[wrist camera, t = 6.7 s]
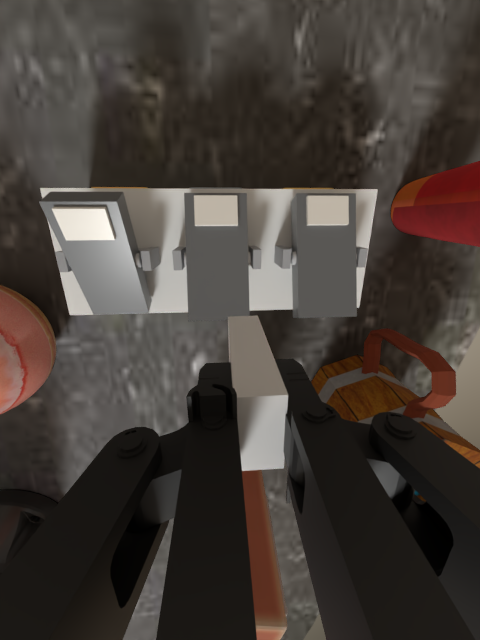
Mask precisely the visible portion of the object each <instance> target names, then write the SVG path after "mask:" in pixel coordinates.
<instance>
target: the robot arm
mask: <svg viewBox="0 0 480 640" xmlns="http://www.w3.org/2000/svg"><path fill="white" fill-rule="evenodd" d="M228 337H229V362H227V363H206V364H205V365H204V366H203V367H202V368H201V369H200V372H199V380H198V385H197V386H195V387H194V388H192V389H191V390H190V391H189V393H188V395H187V397H186V398H187V408H188V418H189V423H188V424H187V425H185V426H184V427H183V428H181V429H179V430H177V431H175V432H172V433H170V434H166V435H163V436H160V437H159V436H158V434H157V433H156V432H155V431H154V430H153V429H150V428H146V427H135V428H131V429H128V430H125V431H123V432H121V433H119V434H117V435H116V436H114V437H113V438H112V439H111V440H110V441H109V442H108V443H107V444H106V445H105V446H104V448H103V449H102V450H101V451H100V453H99V454H98V455H97V456H96V458H95V459H94V460H93V461H92V463H91V464H90V465H89V466H88V467H87V469H86V470H85V471H84V472H83V474H82V475H81V476H80V477H79V479H78V480H77V481H76V482H75V484H74V485H73V486H72V487H71V488H70V490H69V491H68V492H67V493H66V495H65V496H64V497H63V498H62V500H61V501H60V502H59V503H56V502H55V501H53V500H51V499H49V498H47V497H45V496H42V495H40V494H36V493H33V492H28V491H21V490H5V491H0V640H123V637H124V635H125V632H126V629H127V627H128V624H129V622H130V619H131V617H132V614H133V612H134V609H135V607H136V604H137V602H138V599H139V597H140V594H141V592H142V589H143V587H144V584H145V581H146V579H147V576H148V574H149V571H150V569H151V566H152V564H153V561H154V559H155V556H156V554H157V551H158V549H159V546H160V544H161V541H162V539H163V536H164V533H165V531H166V528H167V526H168V523H169V520H170V519H172V518H174V525H173V531H172V538H171V545H170V551H169V558H168V565H167V571H166V578H165V584H164V591H163V598H162V604H161V611H160V618H159V624H158V631H157V638H156V640H257V635H256V623H255V612H254V601H253V590H252V578H251V567H250V556H249V545H248V534H247V522H246V511H245V500H244V489H243V477H242V471H250V470H265V469H280V468H284V457H285V460H286V463H287V467H288V477H287V491H286V503H290V498H291V500H292V504H293V508H294V512H295V516H296V520H297V524H298V528H299V532H300V536H301V540H302V544H303V548H304V552H305V556H306V560H307V564H308V568H309V572H310V576H311V580H312V584H313V588H314V592H315V596H316V600H317V604H318V608H319V612H320V615H321V620H322V624H323V628H324V632H325V635H326V640H480V468H478V467H477V466H476V465H474V464H473V463H472V462H470V461H469V460H468V459H466V458H465V457H464V456H462V455H461V454H460V453H458V452H457V451H456V450H454V449H453V448H452V447H450V446H449V445H448V444H446V443H445V442H444V441H442V440H441V439H440V438H438V437H437V436H436V435H434V434H433V433H432V432H430V431H429V430H428V429H427V428H425V427H424V426H423V425H421V424H420V423H418V422H417V421H415V420H413V419H412V418H410V417H408V416H405V415H402V414H399V413H394V412H380V413H378V414H376V415H374V417H373V419H372V421H371V424H365V423H359V422H354V421H349V420H345V419H343V418H341V416H340V414H339V413H338V412H337V411H336V410H335V409H334V408H333V407H332V406H330V405H328V404H327V403H324V402H322V401H321V399H320V397H319V396H318V394H317V392H316V390H315V388H314V387H313V385H312V383H311V381H310V380H309V378H308V376H307V374H306V372H305V370H304V369H303V367H302V365H301V364H300V363H298V362H297V361H295V360H294V359H274V357H273V354H272V351H271V349H270V346H269V344H268V341H267V338H266V336H265V333H264V331H263V328H262V325H261V323H260V320H259V318H258V316H230V317H228ZM415 490H416V491H417V492H418V493H419V494H420V495H421V496H422V497H423V498H424V499H425V500H426V502H425V501H422V500H421V499H420V498H419V497H417V496H416V495H415V493H414V492H415Z"/></svg>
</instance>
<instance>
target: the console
mask: <svg viewBox="0 0 480 640" xmlns="http://www.w3.org/2000/svg"><path fill="white" fill-rule="evenodd" d="M40 190H41V195H42V198H44V197H45V196H46V195H47V194H48V193H49V192H123V193H124V196H125V200H126V204H127V208H128V212H129V215H130V219H131V223H132V227H133V231H134V234H135V238H136V242H137V246H138V250H139V253H140V254H141V259H142V267H143V271H144V272H145V276H146V280H147V284H148V288H149V291H150V295H151V299H152V302H151V306H150V310H149V313H175V312H188V295H187V267H185V264H184V253H186V235H185V205H184V193H247V225H248V252H250V256H251V263H250V266H248V267H249V309H250V311H252V310H290V309H293V293H292V265H291V252H292V235H291V201H292V199H293V198H294V196H295V195H296V193H356V253H357V260H356V276H357V308H359V306H360V299H361V293H362V287H363V280H364V274H365V268H366V261H367V255H368V248H369V242H370V236H371V229H372V223H373V216H374V210H375V204H376V197H377V191H378V189H333V188H282V189H242V188H209V187H190V189H160V188H147V187H91V188H40ZM48 224H49V222H48ZM49 229H50V233H51V237H52V241H53V246H54V250H55V255H56V259H57V264H58V268H59V272H60V276H61V280H62V284H63V288H64V293H65V297H66V301H67V305H68V310H69V314H70V315H93V313H92V311H91V309H90V306H89V304H88V302H87V300H86V298H85V296H84V294H83V292H82V290H81V288H80V286H79V284H78V282H77V280H76V278H75V275H74V273H73V271H72V269H71V267H70V266H69V263H68V261H67V259H66V257H65V255H64V253H63V251H62V249H61V247H60V244H59V242H58V240H57V238H56V236H55V234H54V232H53V230H52V228H51V226H50V224H49ZM135 314H137V313H135ZM96 315H98V314H96Z"/></svg>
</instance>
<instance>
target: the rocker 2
mask: <svg viewBox="0 0 480 640" xmlns="http://www.w3.org/2000/svg"><path fill="white" fill-rule="evenodd" d="M184 205H185V235H186V253H184V264H185V267H187V295H188V321H216V320H228V317H230V316H250V309H249V267H248V266H250V263H251V256H250V252H248V225H247V193H184Z"/></svg>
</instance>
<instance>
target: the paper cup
mask: <svg viewBox="0 0 480 640" xmlns="http://www.w3.org/2000/svg"><path fill="white" fill-rule="evenodd" d="M391 219H392V222H393V224H394V226H395V227H396V228H397V229H398V230H399V231H401V232H403V233H407V234H411V235H416V236H421V237H427V238H432V239H438V240H443V241H449V242H455V243H461V244H467V245H473V246H478V247H480V161H478V162H474V163H471V164H468V165H464V166H461V167H457V168H454V169H451V170H447V171H444V172H440V173H437V174H434V175H430V176H427V177H424V178H421V179H418V180H415V181H412V182H410V183H408V184H407V185H405V186H404V187H403V188H401V189H400V191H399V192H398V193H397V194H396V196H395V198H394V200H393V202H392V206H391Z"/></svg>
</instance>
